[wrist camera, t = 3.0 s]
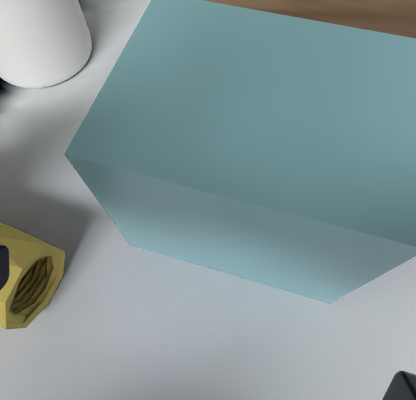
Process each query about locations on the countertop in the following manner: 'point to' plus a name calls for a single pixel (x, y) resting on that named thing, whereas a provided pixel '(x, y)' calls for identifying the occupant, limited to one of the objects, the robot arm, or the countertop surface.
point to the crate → (258, 146)
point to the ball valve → (28, 277)
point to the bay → (344, 12)
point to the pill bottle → (42, 41)
